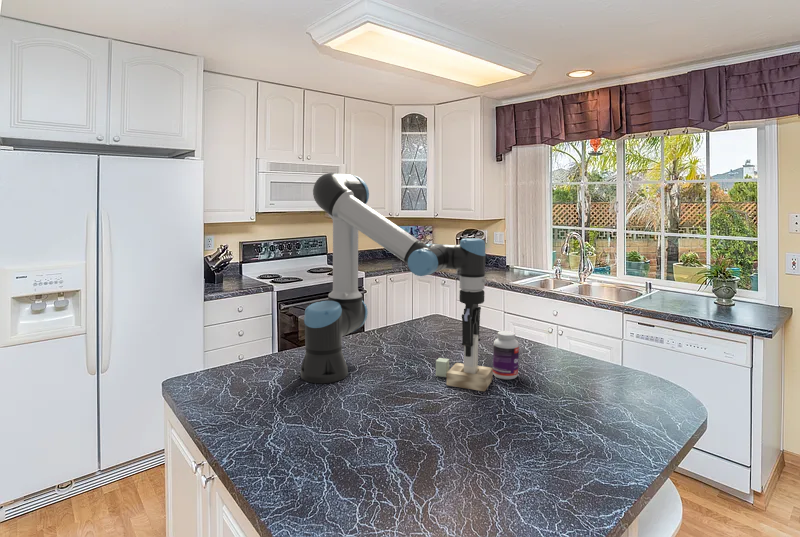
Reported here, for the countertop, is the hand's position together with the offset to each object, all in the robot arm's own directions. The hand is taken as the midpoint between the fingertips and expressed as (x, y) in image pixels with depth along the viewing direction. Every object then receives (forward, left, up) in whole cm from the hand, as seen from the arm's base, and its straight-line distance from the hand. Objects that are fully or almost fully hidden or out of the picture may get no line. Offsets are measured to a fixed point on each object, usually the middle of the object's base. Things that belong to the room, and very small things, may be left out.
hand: (470, 363), depth 149 cm
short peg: (-10, +3, -6) cm, 12 cm away
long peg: (0, 0, -3) cm, 3 cm away
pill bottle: (+9, +10, -6) cm, 15 cm away
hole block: (0, 0, -6) cm, 6 cm away
